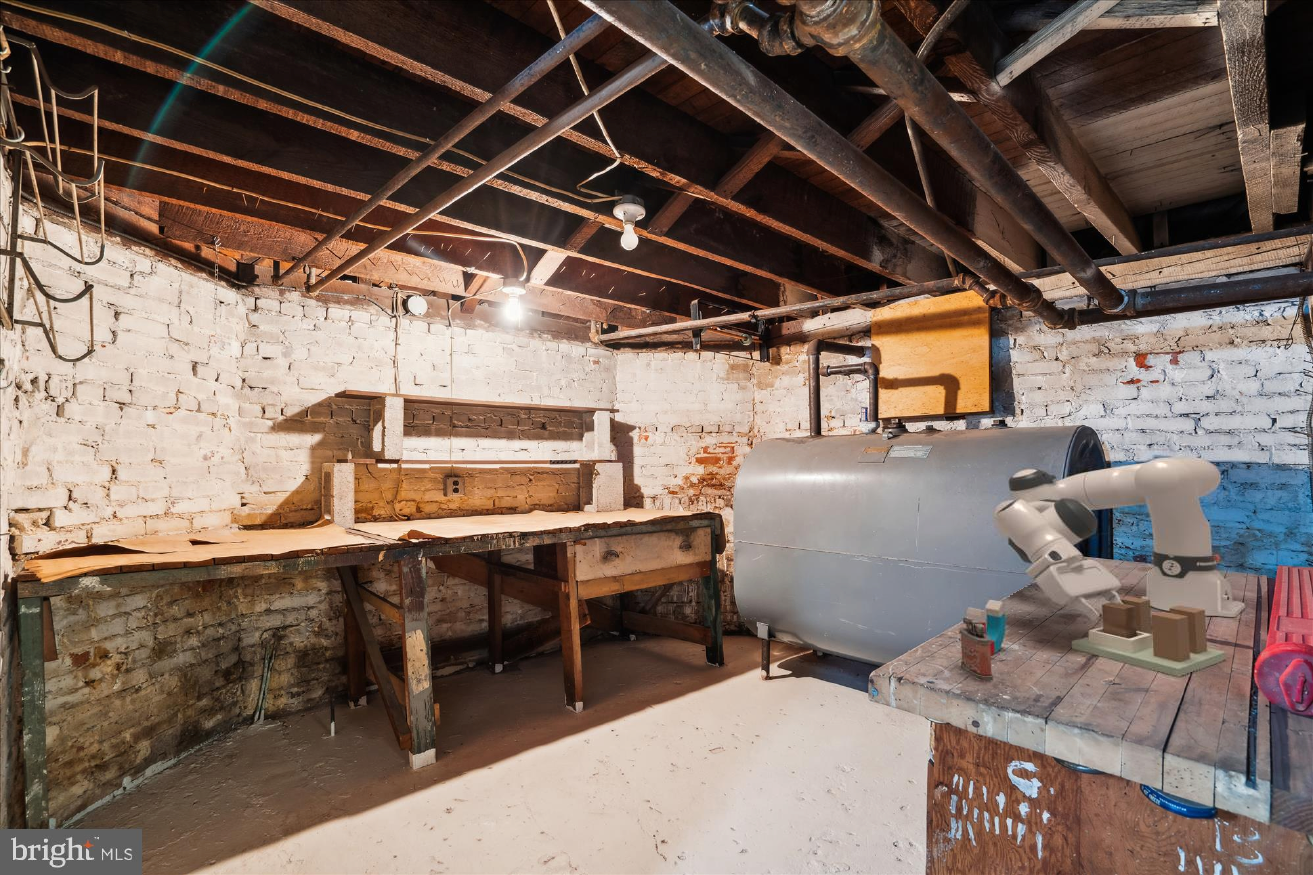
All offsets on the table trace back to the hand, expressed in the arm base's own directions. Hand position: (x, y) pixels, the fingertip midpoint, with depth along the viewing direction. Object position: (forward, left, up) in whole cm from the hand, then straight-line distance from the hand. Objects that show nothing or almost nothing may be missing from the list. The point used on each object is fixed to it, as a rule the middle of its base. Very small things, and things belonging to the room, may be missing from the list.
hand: (1110, 615), depth 119 cm
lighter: (+35, -6, -8) cm, 36 cm away
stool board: (-3, +4, -7) cm, 9 cm away
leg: (0, +1, -6) cm, 6 cm away
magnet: (+23, -12, -7) cm, 27 cm away
